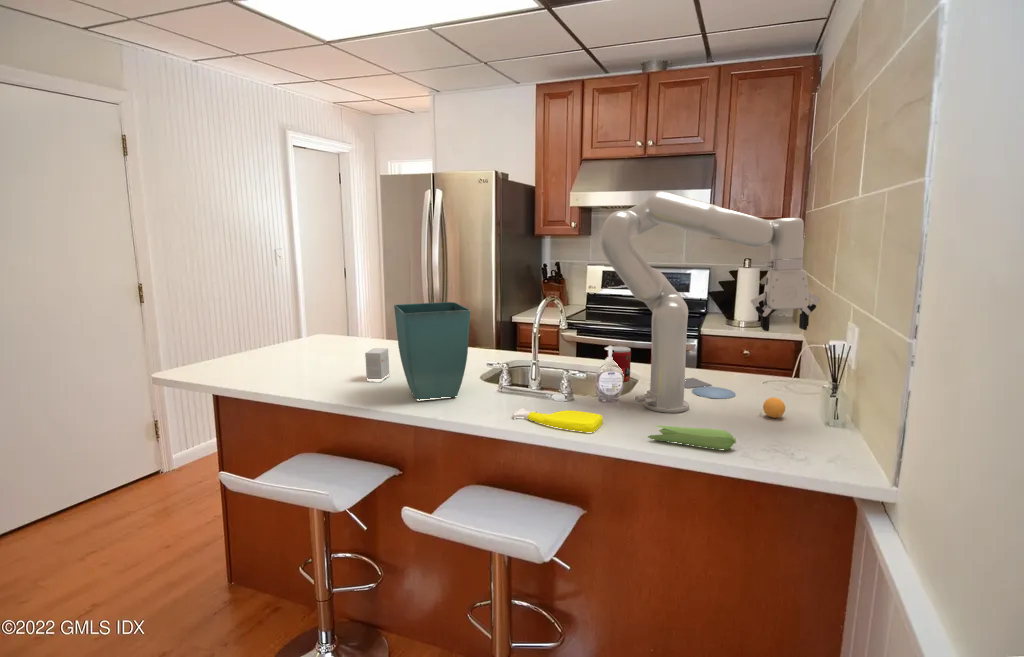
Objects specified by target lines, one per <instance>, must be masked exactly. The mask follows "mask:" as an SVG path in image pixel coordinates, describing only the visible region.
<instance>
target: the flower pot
mask: <svg viewBox="0 0 1024 657" xmlns="http://www.w3.org/2000/svg"><path fill="white" fill-rule="evenodd" d="M393 307H394V315H395V316H394V318H395V325H396V334H397V344H398V350H399V356H400V361H401V365H402V369H403V372H404V376H405V379H406V382H407V386H408V388H409V391H410V390H411V391H410V392H411V393H413V394H412V395H413V397H414V396H415V397H414V398H416V399H419V400H420V399H430V398H441V397H455V396H457V397H458V394H459V391H460V389H461V386H462V383H463V379H464V375H465V371H466V367H467V361H468V352H469V336H470V323H471V322H470V321H471V309H470V308H468V307H466V306H464V305H462V304H459V303H458V302H453V301H449V302H448V301H445V302H423V303H422V302H421V303H405V304H404V303H402V304H394V305H393ZM416 399H415V400H416Z"/></svg>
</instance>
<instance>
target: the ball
mask: <svg viewBox="0 0 1024 657" xmlns="http://www.w3.org/2000/svg"><path fill="white" fill-rule="evenodd" d="M762 410H763V411H764V413H765V414H766V416H767V417H770V418H772V419H773V418H774V419H775V418H780V417H781V416H783V415H784V414H785V412H786V405H785V403H784V401H783V400H781V399H780V398H778V397H769V398H767V399H765V401H764V402H763V405H762Z"/></svg>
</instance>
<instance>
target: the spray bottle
mask: <svg viewBox="0 0 1024 657" xmlns="http://www.w3.org/2000/svg"><path fill="white" fill-rule="evenodd" d="M512 417H514V418H516V417H524V418H528V419H530V420H532V421H535V422H538V423H542V424H545V425H549V426H553V427H558V428H562V429H568V430H575V431H582V432H594V431H595V430H597V429H598V428H599V427H600V426H601V427H602V425H603V424H602V423H604V417H603V416H602V414H598V413H594V412H587V411H579V410H561V411H556V412H552V413H540V412H538V411H537V410H536V411H535V410H534V411H533V410H526V409H525V407H522V408H519V409H517V410H516V411H515V412H513V413H512ZM514 418H513V419H514ZM528 419H527V420H528ZM532 421H531V422H532ZM535 422H534V423H535ZM601 427H600V428H601ZM600 428H599V429H600ZM599 429H598V430H599ZM595 432H596V431H595ZM595 432H594V433H595Z"/></svg>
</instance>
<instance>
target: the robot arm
mask: <svg viewBox="0 0 1024 657" xmlns="http://www.w3.org/2000/svg"><path fill="white" fill-rule="evenodd" d="M662 225H666V226H669V227H673V228H676V229H680V230H684V231H686V232H691V233H693V234H697V235H701V236H706V237H713V238H718V239H721V240H725V241H727V242H731V243H735V244H739V245H742V246H745V247H749V248H753V249H760V248H763V247H765V246H770V259H769V261H766V262H765V263H764V266H765V268H769V270H768V271H767V274H766V278H765V283H764V290H763V293H762V294H759V295H757V296H755V297H754V298H752V299H750V303H751V305H752V307H753V309H754V310H755V311H756V312H757V313H758V314H759V316H760V328H761V330H763V331H765V332H769V331H770V319H771V318H770V316H769V314H770V313H771V312H772V311H773V310H799V311H800V312H801V313H800V314H799V319H798V320H799V321H798V322H799V323H798V325H799V326H798V328H799V329H800V330H803V331H807V330H808V327H809V322H810V320H809V318H810V315H811V314H812V312H813V311H814V310H815V309H817V306H818V304H819V303H820V300H821V298H820V297H819V296H817V295H814V294H812V293H811V292H809V283H808V276H807V272H806V270H804V269H803V255H804V230H805V228H804V227H805V226H804V220H803V219H802V218H801V217H785V218H784V217H783V218H782V217H781V218H776V219H764V218H761V217H757V216H755V215H749V214H746V213H742V212H738V211H736V210H735V211H734V210H731V209H728V208H724V207H721V206H718V205H715V204H713V203H709V202H705V201H702V200H698V199H695V198H689V197H687V196H683V195H679V194H675V193H672V192H669V191H664V190H658V191H654V192H652V193H651V194H650V195H648V197H647V198H646V200H643V201H642V202H641V203H639V204H636V205H634V206H633V207H630V208H628V209H626V210H617V211H614V212H613V213H610V215H608V216H607V218H606V219H605V221H604V223H603V226H602V228H601V231H600V241H599V242H600V247H601V251H602V253H603V255H604V257H605V259H606V260H607V262H608V264H609V265H610V266H611V267H612V269H613V271H615V273H616V274H617V276H618V277H619V279H620V280H621V281H622V282H623V283H624V284H625V286H626V287H627V289H628V290H629V291H630V293H631V294H632V296H633V297H634V298H635V299H637V301H641V302H643V303H644V305H646V307H648V309H649V310H650V312H651V313H652V314H651V356H650V357H651V361H650V383H649V384H650V389H649V390H646V393H644V394H639V395H635V396H634V400H635V402H636V403H641V402H644V407H646V408H647V409H649V410H651V411H655V412H660V413H669V414H670V413H671V414H674V413H675V414H677V413H682V412H683V413H684V412H686V411H688V410H689V409H690V403H689V402H688V401H686V400H685V388H684V383H685V379H686V377H685V376H686V361H687V359H686V358H687V357H686V354H687V335H688V334H687V332H688V320H689V319H688V317H689V309H688V308H689V307H688V305H687V303H686V301H685V300H684V298H683V297H682V296H681V295H680V294H679V292H678V291H677V290H676V289H675V287H674V286H673V285H672V284H671V283H670V282H671V281H669V280H668V279H667V277H665V275H664V274H663V273H662V272H661V271H660V270H658V269H656V268H654V267H652V266H651V265H650V264H649V263H648V262H647V261H646V260H645V258H644V257H643V256H642V254H641V252H639V251H638V250H637V248H636V247H635V246H634V244H633V243H632V239H634V238H637V237H638V236H639V237H640V235H642V234H644V233H648V232H649V231H651V230H653V229H655V228H657V227H659V226H662ZM810 300H811V302H810V303H809V301H810ZM762 301H763V307H761V306H760V304H759V303H760V302H762Z"/></svg>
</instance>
